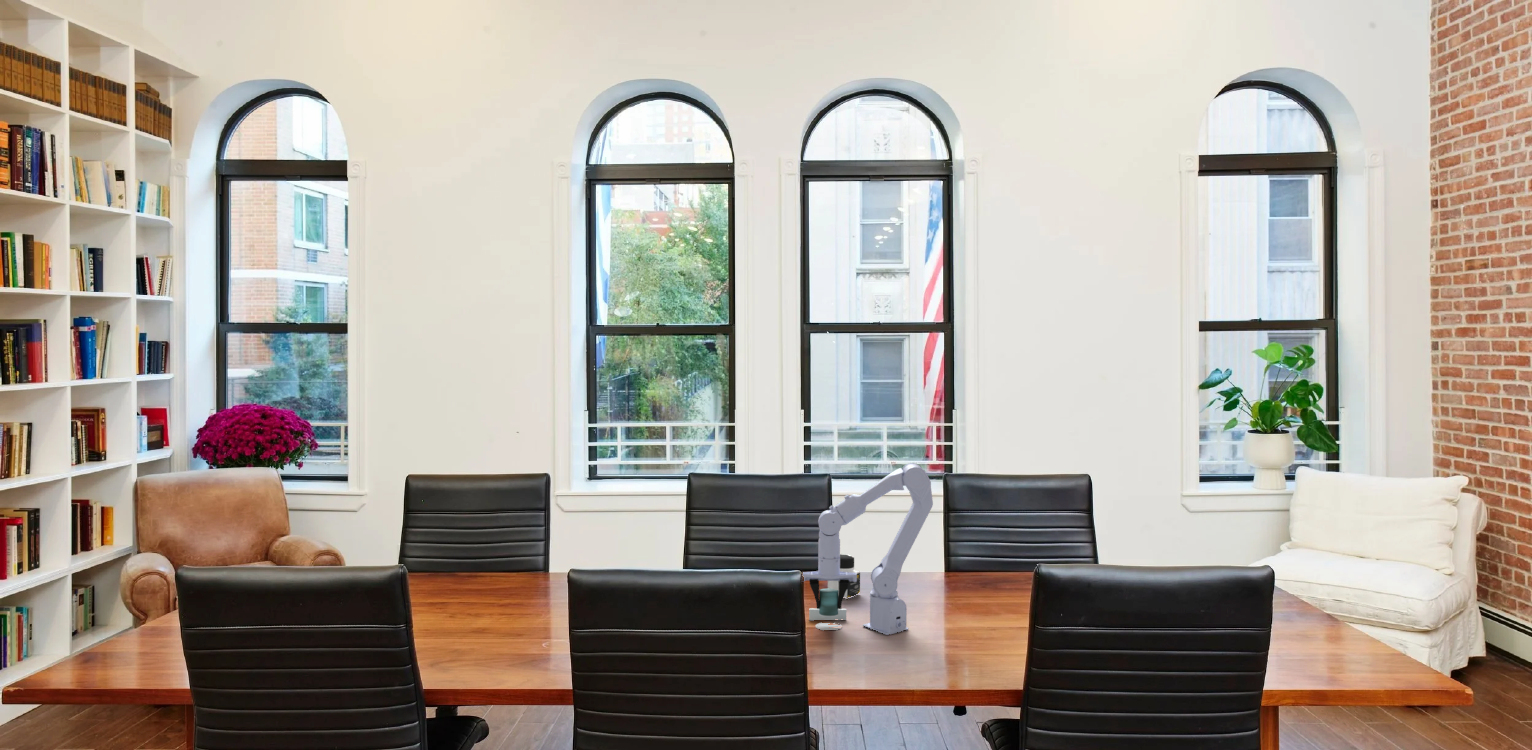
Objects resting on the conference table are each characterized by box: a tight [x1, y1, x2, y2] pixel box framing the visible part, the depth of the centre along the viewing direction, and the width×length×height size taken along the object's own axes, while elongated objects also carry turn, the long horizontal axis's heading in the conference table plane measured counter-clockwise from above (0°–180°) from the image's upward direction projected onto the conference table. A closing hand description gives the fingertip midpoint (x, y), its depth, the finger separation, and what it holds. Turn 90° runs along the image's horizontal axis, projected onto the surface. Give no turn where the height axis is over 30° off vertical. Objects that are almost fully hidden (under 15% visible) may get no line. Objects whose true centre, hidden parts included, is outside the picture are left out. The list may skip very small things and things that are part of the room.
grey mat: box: [815, 622, 843, 631], centre depth 240 cm, size 7×7×1 cm
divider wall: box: [808, 607, 847, 621], centre depth 246 cm, size 10×1×3 cm, turn 89°
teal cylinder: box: [819, 587, 838, 616], centre depth 240 cm, size 5×5×6 cm
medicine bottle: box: [827, 553, 861, 598], centre depth 270 cm, size 7×7×12 cm
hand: (828, 607), depth 240 cm, fingers closed on teal cylinder, 5 cm apart
